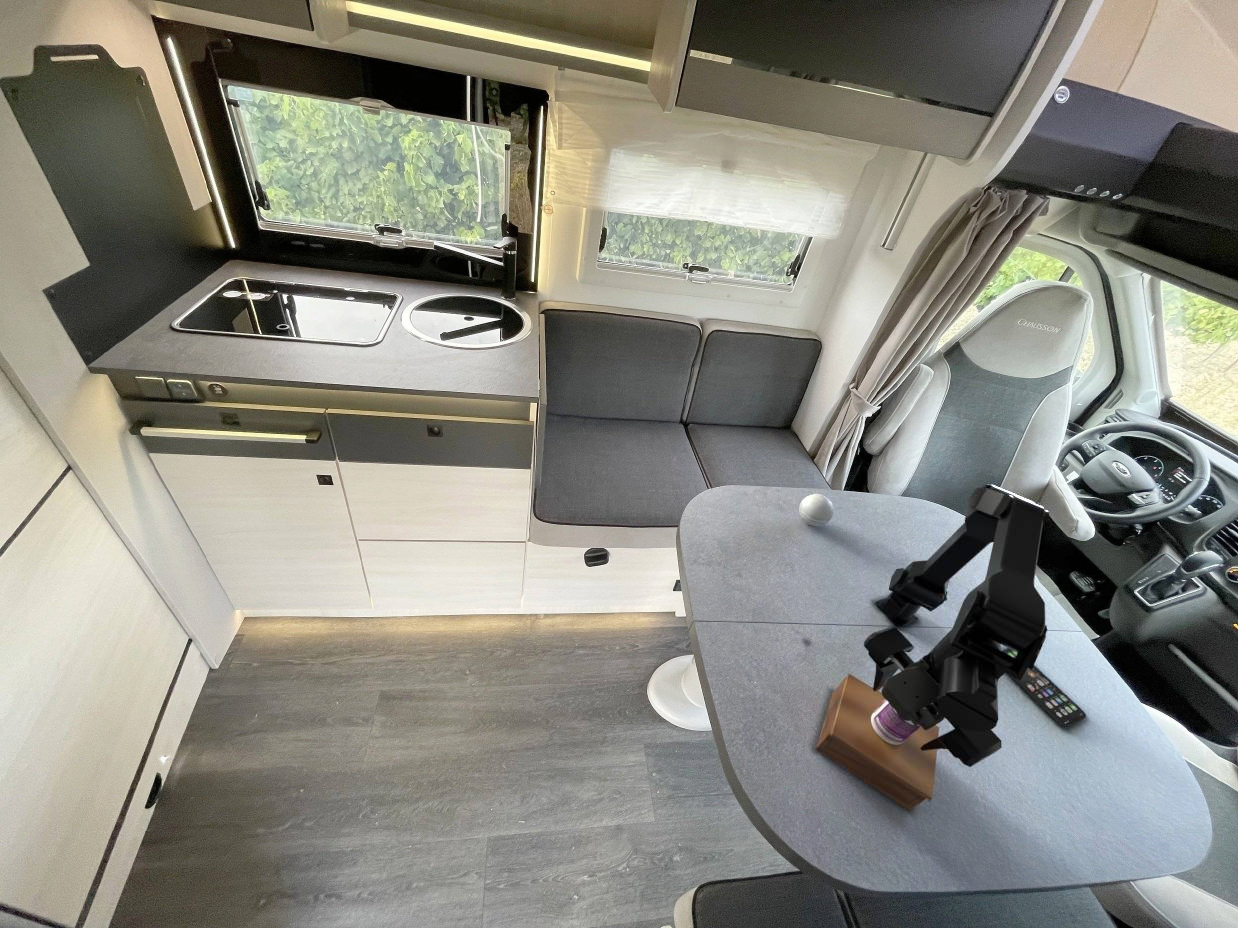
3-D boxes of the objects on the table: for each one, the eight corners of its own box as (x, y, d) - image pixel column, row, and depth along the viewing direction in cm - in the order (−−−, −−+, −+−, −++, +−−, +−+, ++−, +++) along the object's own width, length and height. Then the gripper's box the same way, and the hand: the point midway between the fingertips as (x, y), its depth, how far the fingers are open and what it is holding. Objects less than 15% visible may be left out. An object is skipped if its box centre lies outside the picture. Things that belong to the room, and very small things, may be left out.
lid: (929, 800, 71) (932, 798, 70) (829, 736, 76) (831, 733, 75) (936, 729, 80) (939, 726, 79) (846, 675, 85) (848, 673, 84)
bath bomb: (796, 506, 129) (808, 483, 124) (826, 518, 127) (840, 495, 123) (792, 525, 123) (804, 501, 118) (824, 537, 121) (838, 514, 116)
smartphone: (1013, 645, 103) (1088, 715, 92) (1011, 647, 103) (1086, 717, 93) (991, 654, 100) (1066, 727, 89) (989, 656, 100) (1063, 729, 90)
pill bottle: (907, 751, 75) (942, 721, 69) (871, 737, 76) (903, 706, 70) (902, 718, 79) (935, 687, 73) (868, 705, 80) (898, 673, 74)
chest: (909, 810, 75) (930, 795, 71) (815, 748, 80) (830, 731, 76) (917, 745, 83) (936, 729, 80) (832, 693, 88) (846, 675, 85)
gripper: (862, 618, 69) (817, 677, 79) (982, 754, 56) (911, 805, 66) (916, 600, 74) (867, 658, 83) (1038, 722, 61) (964, 774, 70)
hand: (898, 717), depth 75 cm, fingers open, 9 cm apart
